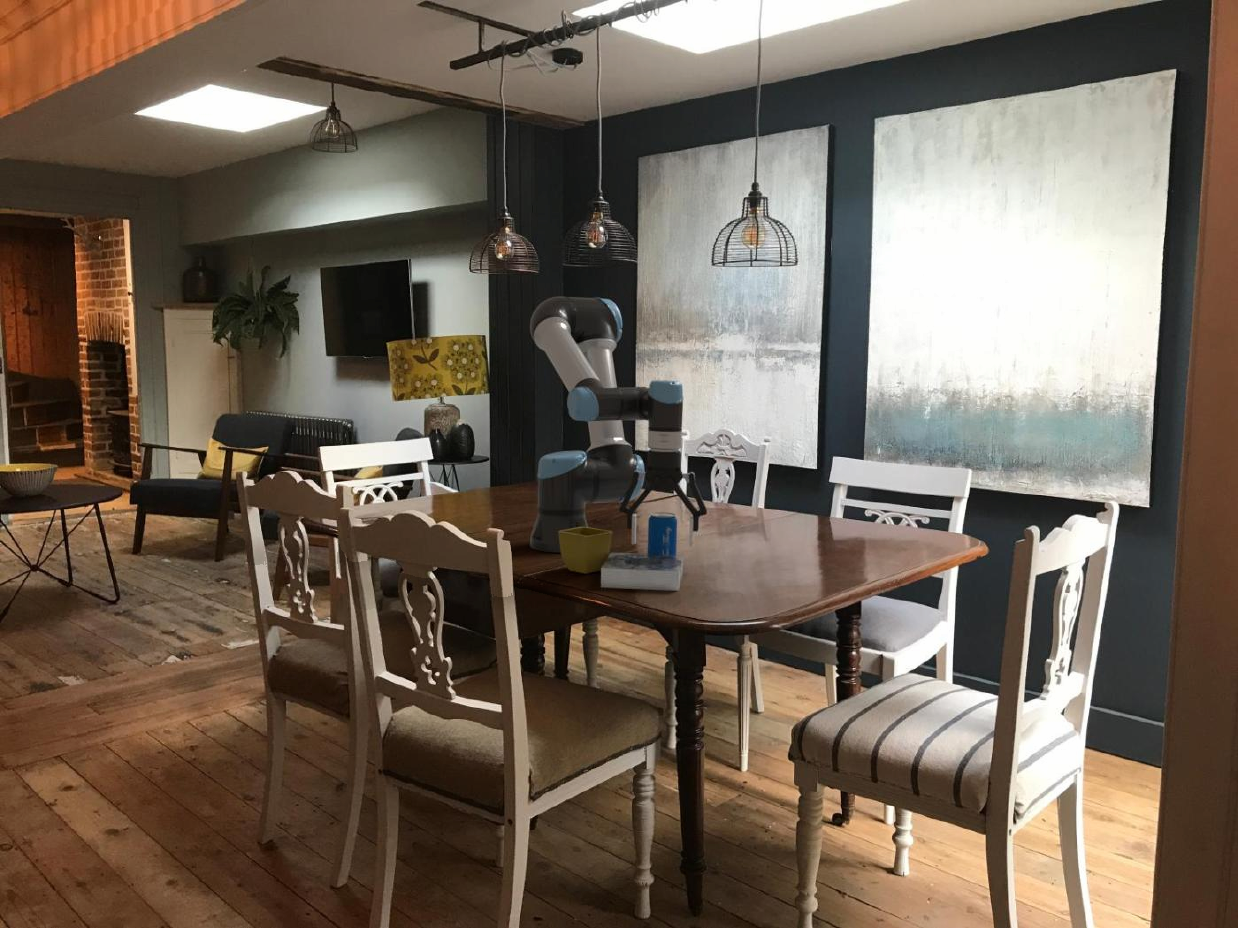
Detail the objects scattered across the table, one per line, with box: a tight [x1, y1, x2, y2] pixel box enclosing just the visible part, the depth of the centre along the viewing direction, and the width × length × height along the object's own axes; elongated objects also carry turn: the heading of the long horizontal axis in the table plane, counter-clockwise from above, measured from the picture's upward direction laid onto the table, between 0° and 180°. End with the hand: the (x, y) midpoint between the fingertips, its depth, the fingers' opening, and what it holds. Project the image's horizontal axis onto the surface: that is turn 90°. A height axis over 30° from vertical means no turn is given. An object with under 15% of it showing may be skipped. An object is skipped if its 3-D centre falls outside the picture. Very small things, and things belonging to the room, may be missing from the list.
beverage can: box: [647, 511, 678, 555], centre depth 225 cm, size 6×6×12 cm
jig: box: [600, 552, 684, 592], centre depth 212 cm, size 16×16×4 cm
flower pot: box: [558, 526, 614, 575], centre depth 220 cm, size 9×9×9 cm
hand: (662, 544), depth 225 cm, fingers open, 12 cm apart
